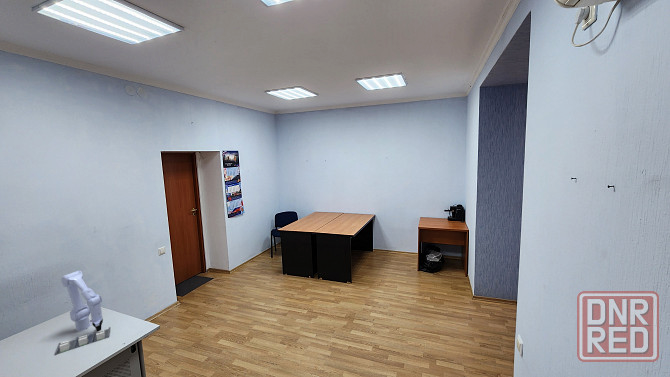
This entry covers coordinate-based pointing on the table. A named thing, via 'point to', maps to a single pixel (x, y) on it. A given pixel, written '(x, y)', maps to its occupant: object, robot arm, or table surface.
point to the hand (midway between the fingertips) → (99, 330)
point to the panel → (91, 339)
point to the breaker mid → (83, 340)
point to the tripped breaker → (100, 334)
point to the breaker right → (64, 346)
